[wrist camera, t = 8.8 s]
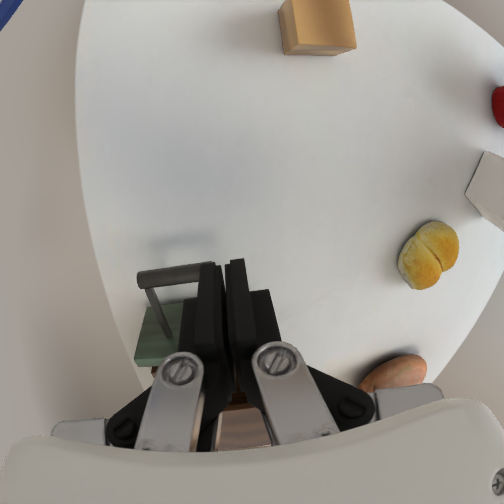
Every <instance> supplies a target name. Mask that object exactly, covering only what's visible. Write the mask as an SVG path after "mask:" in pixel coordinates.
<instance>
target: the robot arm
mask: <svg viewBox="0 0 504 504" xmlns="http://www.w3.org/2000/svg"><path fill="white" fill-rule="evenodd" d="M1 1H2V0H0V3H1ZM225 280H226V291H225V285H224V280H223V274H222V269H221V265H217V266H216V265H215V262H211V263H203V264H200V272H199V283H198V295H197V298H193V299H185V300H184V303H183V311H182V318H181V326H180V335H179V344H178V352H177V353H174V354H171V355H169V356H167V357H166V358H165V359H164V360H163V361H162V362H161V363H160V365H159V367H158V369H157V372H156V375H155V378H154V382H153V385H152V386H151V387H149V388H148V389H147V390H145V391H144V392H143V393H142V394H140V395H139V396H138V397H137V398H135V399H134V400H133V401H131V402H130V403H129V404H127V405H126V406H125V407H124V408H122V409H121V410H120V411H118V412H117V413H116V414H114V416H112V417H111V418H110V419H105V418H104V417H102V418H93V419H83V420H70V421H61V422H58V423H57V424H56V425H55V426H54V427H53V429H52V431H51V436H33V437H28V438H24V439H21V440H19V441H17V442H15V443H14V444H13V445H11V447H10V448H9V450H8V452H7V454H6V456H5V459H4V463H3V466H2V470H1V475H0V504H504V431H503V429H502V427H501V425H500V424H499V422H498V420H497V419H496V417H495V416H494V414H493V413H492V412H491V411H490V409H489V408H488V407H487V406H486V405H485V404H483V403H482V402H480V401H477V400H474V399H468V398H452V399H444V396H443V393H442V391H441V390H440V389H439V388H438V387H437V386H436V385H434V384H431V383H422V384H416V385H410V386H403V387H395V388H387V389H377V390H375V392H372V393H366V392H364V391H363V390H361V389H359V388H356V387H354V386H352V385H349V384H347V383H345V382H342V381H340V380H338V379H336V378H334V377H331V376H329V375H327V374H325V373H323V372H321V371H318V370H316V369H314V368H312V367H310V366H308V365H306V364H305V362H304V360H303V358H302V356H301V354H300V352H299V351H298V350H297V348H296V347H294V346H293V345H291V344H289V343H286V342H282V340H281V336H280V332H279V328H278V324H277V320H276V316H275V312H274V308H273V304H272V300H271V296H270V292H269V289H265V290H258V291H250V292H249V288H248V281H247V275H246V268H245V261H244V258H242V259H234V260H230V264H225ZM235 370H236V374H237V378H238V382H239V386H240V389H241V392H246V397H247V401H248V403H249V404H251V405H252V406H254V407H256V408H257V409H259V410H260V414H261V417H262V420H263V423H264V426H265V429H266V432H267V435H268V438H269V441H270V443H271V447H264V448H256V449H248V450H237V451H222V452H218V450H219V442H220V433H221V425H222V411H223V410H224V409H225V408H226V407H227V406H228V405H229V401H232V395H231V393H237V389H236V377H235Z"/></svg>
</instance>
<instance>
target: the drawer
mask: <svg viewBox="0 0 504 504" xmlns="http://www.w3.org/2000/svg"><path fill="white" fill-rule="evenodd" d="M211 262H212V261H208V262H202V263H195V264H188V265H181V266H174V267H168V268H161V269H154V270H147V271H140V272H138V273H137V284H138V286H139V288H140V289H145V292H146V294H147V297H148V299H149V301H150V304H151V307H147V309H146V313H145V316H144V320H143V324H142V328H141V331H140V335H139V339H138V343H137V347H136V352H135V356H134V361H135V362H136V364H137V365H138V367H151V366H152V370H151V374H152V376H153V377H154V378H155V375H156V372H157V369H158V367H159V365H160V363H161V362H162V361H163V360H164V359H165V358H166V357H167V356H169V355H171V354H174V353H177V352H178V344H179V335H180V326H181V318H182V311H183V303H178V304H169V305H160V303H159V301H158V298H157V296H156V293H155V291H154V287H162V286H170V285H177V284H185V283H192V282H199V272H200V264H203V263H211ZM235 377H236V389H237V393H231V395H232V401H229V405H234V404H243V403H248V401H247V397H246V392H241V389H240V386H239V382H238V378H237V374H236V370H235Z"/></svg>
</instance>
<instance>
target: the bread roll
mask: <svg viewBox="0 0 504 504" xmlns="http://www.w3.org/2000/svg"><path fill="white" fill-rule="evenodd" d="M458 252H459V241H458V237H457V234H456V232H455V231H454V230H453V229H452V228H451V227H450V226H448V225H446V224H445V223H442V222H437V221H434V222H429V223H427V224H425V225H424V226H422V227H421V228H420V229H419V230H418V231H417V232H416V235H415V236H413V237H411V238H410V239H409V240H408V241H407V242H406V244H405V246H404V247H403V249H402V251H401V253H400V256H399V259H398V268H399V270H400V273H401V275H402V276H403V278H404V279H405V280H406V282H407V283H408V285H409V286H410V287H411V289H417V290H423V289H426V288H429V287H431V286H433V285H434V284H435V283H436V282H437V281H438V280H439V278H440V275H441V273H442V272H444V271H446V270H448V269H450V268H451V267H452V266H453V265H454V264H455V262H456V260H457V257H458Z"/></svg>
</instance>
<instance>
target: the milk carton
mask: <svg viewBox="0 0 504 504" xmlns="http://www.w3.org/2000/svg"><path fill="white" fill-rule="evenodd" d="M465 196H466V197H467V198H468V199H469V200H470V201H471V203H472V204H473V205H474V206H475V207H476V208H477V210H478V211H479V212H480V213H481V214H482V216H483V217H484V218H485V219H487V220H488V221H490V222H491V223H493V224H494V225H495V226H497V227H498V228H499V229H501V230H502V231H504V158H503V157H500V156H498V155H496V154H493V153H491V152H488V151H484V154H483V156H482V158H481V161H480V163H479V165H478V167H477V170H476V172H475V174H474V176H473V178H472V180H471V183H470V185H469V187H468V189H467V191H466V193H465Z"/></svg>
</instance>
